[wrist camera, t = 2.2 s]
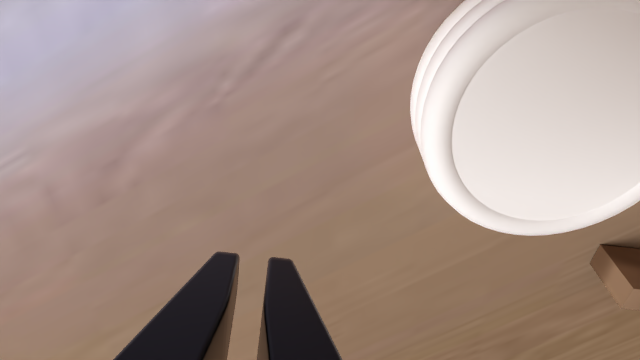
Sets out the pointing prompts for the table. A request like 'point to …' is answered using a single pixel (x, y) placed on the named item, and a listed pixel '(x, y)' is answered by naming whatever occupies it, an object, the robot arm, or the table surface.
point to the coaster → (532, 112)
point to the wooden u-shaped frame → (619, 274)
